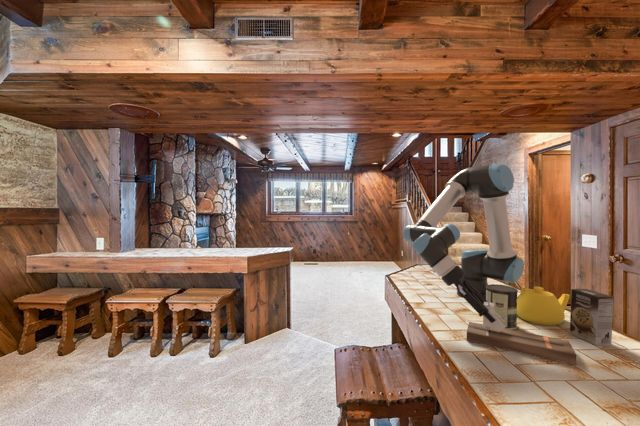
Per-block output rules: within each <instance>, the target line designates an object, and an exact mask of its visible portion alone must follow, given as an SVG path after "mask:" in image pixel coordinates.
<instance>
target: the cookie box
mask: <svg viewBox="0 0 640 426" xmlns="http://www.w3.org/2000/svg"><path fill="white" fill-rule="evenodd" d="M614 300H615V296H611V295H609V294H605V293H601V292H598V291H595V290H592V289H588V288H572V289H571V291H570V317H569V318H570V319H569V321H570V322H569V334H570V335H572V336H574V337H576V338H579V339H580V340H583V341H585V342H587V343H590V344H592V345H594V346H611V345H612V340H613V339H612V338H613V323H614V322H613V320H614V305H615V304H614V303H615V301H614Z"/></svg>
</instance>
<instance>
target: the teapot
mask: <svg viewBox="0 0 640 426" xmlns="http://www.w3.org/2000/svg"><path fill="white" fill-rule="evenodd" d="M544 289H545V288H544V287H541V286H533V288H528V287H522V288H521V290H520V294H519V295H517V318H518V317H519V319H522V320H524V321H526V322H528V323H532V324H537V325H542V326H558V325H560V324H562V323H563V321H564V320H565V318H566V317H565V310H566V308H567V305H568V302H569V299H570V298H571V294H568V293H562V295H561V296H560V297H559V298H557V296H555V294H554V293H552V292H550V291H546V290H544Z"/></svg>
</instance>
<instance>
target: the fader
mask: <svg viewBox="0 0 640 426" xmlns="http://www.w3.org/2000/svg"><path fill="white" fill-rule="evenodd" d="M484 306H485V307H486V308H487V309H488V310H490V311H491V312H492V313H493V314H494V303H490V302H484ZM482 317H483V318H482V320H483V322H482V324H483V326H486V329H487V330H490V327H492V328H494V327H493V326H492V325H491V324H490V323H489V322H488V320H487V319H486V318H485V317H484V316H483V315H482Z"/></svg>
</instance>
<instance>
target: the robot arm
mask: <svg viewBox="0 0 640 426" xmlns="http://www.w3.org/2000/svg"><path fill="white" fill-rule="evenodd" d="M514 182H515V179H514V174H513V171H512V170H511V168H510V167H508V165H506V164H502V163H499V164H498V163H497V164H495V163H494V164H486V165H479V166H469V167H467V168H464V169H462V170H460V171H458V172H457V173H456V174H455V175H453V176H452V177H451V178H450V179H449V180H448V181H447V182H446V184H445V185H444V189H443V190H442V192H440V194H439V195H438V196H437V198H436V199H435V200H434V201H433V202H432V204H431V205H430V206H428V208H427V209H426V211H424V213H423V214H422V215H421V216H420V218H419V219H418V220H417V221H416V222H415V223H414V224H409V225H407V226H405V227H404V229H403V231H402V232H403V238H404V239H405V241H407V242H409V243H411V247H412V248H413V250H414V251H415V252H416V253H417V255H418V256H420V257H421V258H422V260H423V261H424V262H426V264H427V265H428V266H429V267H430V268H431V269H432V272H433V273H436V275H437V276H438V277H441V280H442V281H443V282H444V283H445V284H446V285H447V286H451V285H454V286H455V288H456V294H457V295H458V296H460V297H462V298H463V299H464V300H465V301H466V302H467V303H468V304H469V306H471V307H472V308H473V309H474V310H475V311H476V313H478V316H479V317H483V316H484V317H485V318H486V319H487V320H488V322H489V323H490V324H491V325H492V326H493V327H494V328H495V329H496V330H497V331H498V332H499V331H501V330H502V329H504V328H505V326H504V325H503V323H505V321H504V320H503V319H502V318H501V317H500V316H499V315H498V314H497V313H496V312H495V311H494V314H493V313H492V312H491V311H490V310H488V309H487V308H486V307H485V306H484V302H487V300H486V285H489V283H488V279H491V280H495V281H502V282H504V283H509V284H510V283H511V284H514V283H517V282H518V281H519V280H520V279H521V278H522V275H523V273H524V270H525V269H524V267H525V261H524V260H523V259H522V258H520V257H519V256H518V255H517V251H516V250H515V249H513V247H512V238H511V233H510V223H509V216H508V209H507V208H508V206H507V199H506V198H507V197H508V196H509V194H510V191H512V190H513V188H514ZM470 193H477V194H478V195H477V196H478V198H479V199H480V200H482V202H483V203H482V204H483V211H484V217H485V224H486V231H487V237H488V244H489V250H488V249H467V250H466V249H465V250H463V251H462V252H461V258H460V260H461V261H460V262H461V263H460V265H461V267H460V266H459V265H457V263H456V262H455V260H454V259H453V258H452V257H451V256H450V255H449V254H448V253H447V252H446V250H448V249H449V248H450V247H451V246H453V245H454V244H456V242H458V240H459V239H460V237H461V232H460V230H459V228H458V226H457V225H455V224H453V223H445V224H443V225H441V226H440V227H439V224H440V223H441V221H442V220H443V219H444V218H445V217H446V215H447V214H448V213H449V212H450V211H451V209H452V208H453V207H454V206H455V204H456V203H457V202H458V201H459V200H460V199H462V198H464V197H465V196H466V194H470Z"/></svg>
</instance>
